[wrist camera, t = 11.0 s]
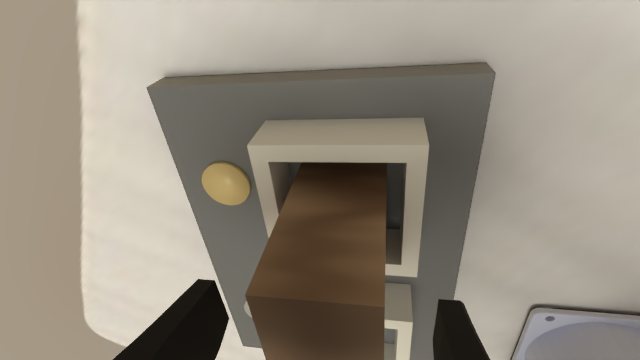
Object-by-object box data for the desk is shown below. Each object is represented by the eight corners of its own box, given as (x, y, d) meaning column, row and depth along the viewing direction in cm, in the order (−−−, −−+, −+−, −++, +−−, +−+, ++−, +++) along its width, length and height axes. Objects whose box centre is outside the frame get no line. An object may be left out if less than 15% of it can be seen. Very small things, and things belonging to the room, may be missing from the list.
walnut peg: (386, 159, 16) (384, 307, 9) (386, 225, 18) (383, 383, 11) (303, 158, 16) (244, 295, 10) (311, 222, 19) (268, 368, 12)
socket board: (486, 62, 14) (515, 95, 11) (437, 349, 25) (444, 407, 22) (163, 77, 17) (110, 107, 14) (249, 328, 28) (231, 378, 25)
